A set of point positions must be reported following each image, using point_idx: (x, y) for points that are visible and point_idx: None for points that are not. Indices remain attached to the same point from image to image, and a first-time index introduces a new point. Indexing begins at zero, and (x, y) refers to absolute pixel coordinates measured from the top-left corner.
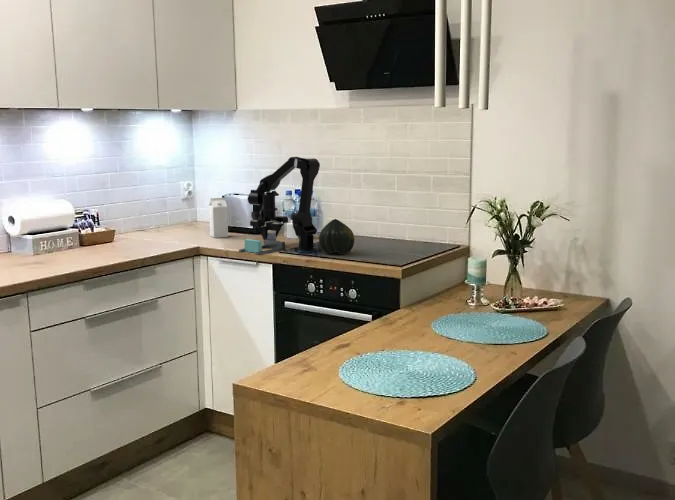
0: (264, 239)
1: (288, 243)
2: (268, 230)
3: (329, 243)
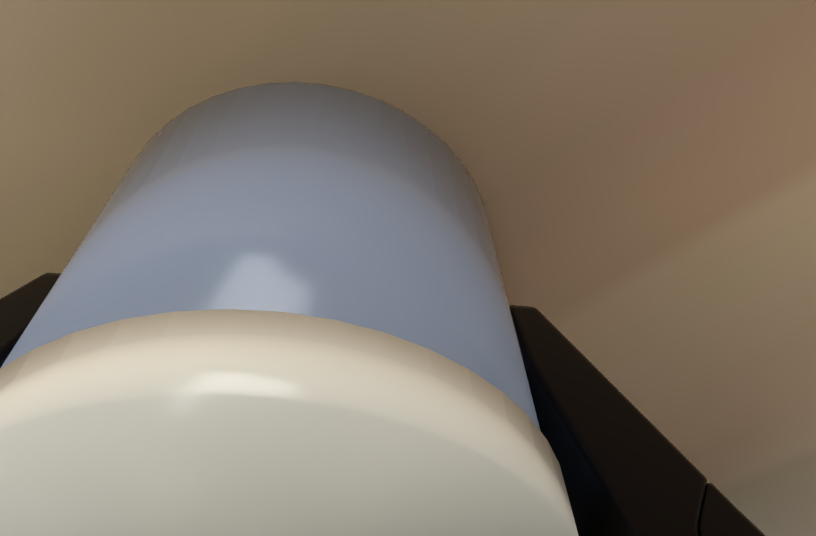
0: None
1: (727, 384)
2: (383, 509)
3: None
